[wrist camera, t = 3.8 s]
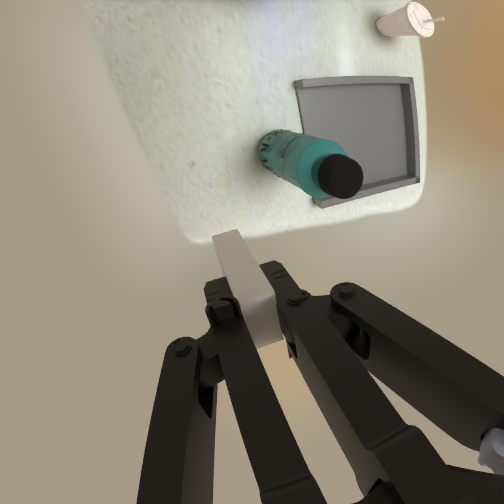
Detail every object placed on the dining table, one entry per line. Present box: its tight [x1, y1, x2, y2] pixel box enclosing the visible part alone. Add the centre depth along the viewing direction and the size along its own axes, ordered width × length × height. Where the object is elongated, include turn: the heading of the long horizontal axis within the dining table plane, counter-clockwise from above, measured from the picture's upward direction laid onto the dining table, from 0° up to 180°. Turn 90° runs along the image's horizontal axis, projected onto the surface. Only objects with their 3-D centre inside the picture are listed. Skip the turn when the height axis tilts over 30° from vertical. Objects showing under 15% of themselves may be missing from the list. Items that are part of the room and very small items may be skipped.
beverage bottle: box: [259, 129, 363, 199], centre depth 33 cm, size 6×7×20 cm
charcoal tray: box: [294, 76, 420, 209], centre depth 42 cm, size 20×22×3 cm
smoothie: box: [376, 2, 445, 38], centre depth 29 cm, size 6×6×14 cm
